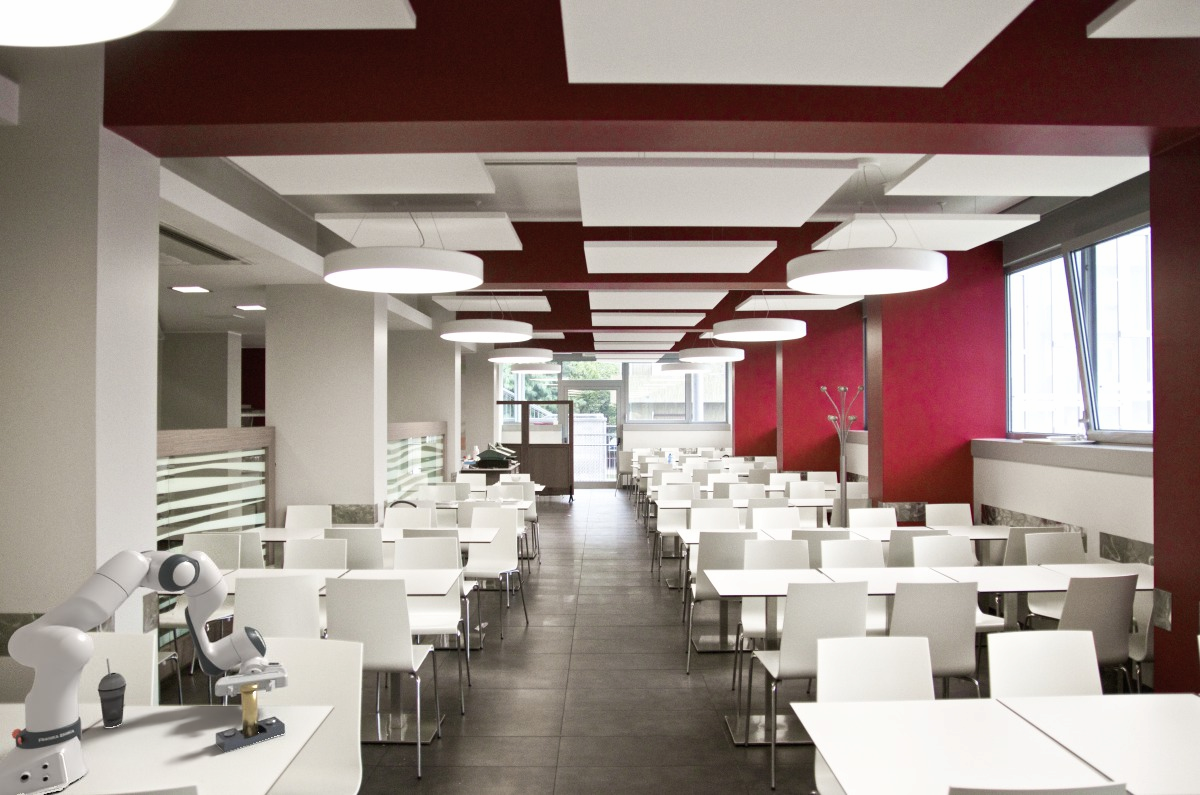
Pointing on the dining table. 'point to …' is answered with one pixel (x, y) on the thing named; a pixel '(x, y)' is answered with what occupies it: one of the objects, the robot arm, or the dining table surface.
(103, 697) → the beverage cup
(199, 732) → the dining table surface
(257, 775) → the dining table surface
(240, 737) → the slotted clamp bar
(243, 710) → the pin
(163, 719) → the dining table surface
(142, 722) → the dining table surface
